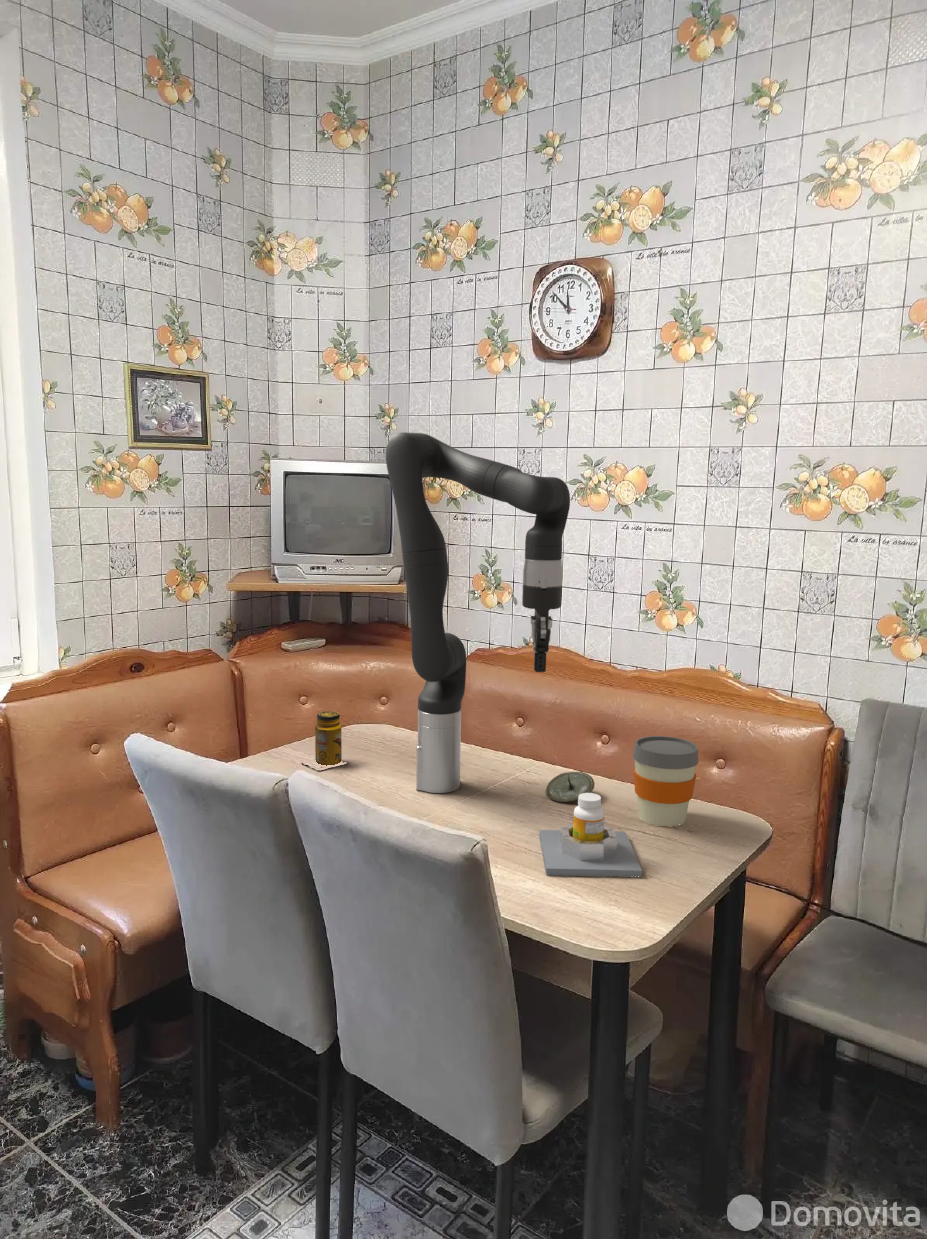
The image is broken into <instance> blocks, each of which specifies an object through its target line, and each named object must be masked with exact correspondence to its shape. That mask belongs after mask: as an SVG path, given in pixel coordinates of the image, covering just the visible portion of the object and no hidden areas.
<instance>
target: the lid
mask: <svg viewBox="0 0 927 1239" xmlns="http://www.w3.org/2000/svg"><path fill="white" fill-rule="evenodd" d="M594 788H595V780H594V778H593V777H592V776H591V775H590V774H589V773H586V772H583V771H569V772H568V771H567V772H566V771H565V772H562V773H559V774H558V775H556V776H554V777H553V778H551V779H550V781H549V782H548V784H547V785H546V788H545V794H546V795H547V797H548V799H550V800H552V801H554V802H558V803H572V802H578V796H579V795H580V794H582V793H592V791H593V790H594Z"/></svg>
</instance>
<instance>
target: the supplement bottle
mask: <svg viewBox="0 0 927 1239" xmlns="http://www.w3.org/2000/svg"><path fill="white" fill-rule="evenodd" d="M577 804H578V805H577V806H575V808H574V810H573V822H572V823H573V837H574V838H576V839H579V840H581V841H598V842H600V841H602V840H603V839H604V826H605V811H604V809H603V807H601V806H602V797H601V795H600V794H597V793H593V792H591V793H582V794H580V795H579V796H578V800H577Z"/></svg>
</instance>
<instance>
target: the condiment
mask: <svg viewBox="0 0 927 1239" xmlns="http://www.w3.org/2000/svg"><path fill="white" fill-rule="evenodd" d="M340 718H341V716H340V713H339V712H337V711H332V710H326V711H321V712H318V713H317V715H316V725H315V727H314V733H315V734H314V736H315V737H314V739H315V742H314V744H315V745H314V749H315V750H314V751H315V753H314V755H315V756H314V757H315V759H314V760H316V762H317V763H318V764H321V765H326V766H327V765H335V764H338V763H340V762H341V760H342V755H343V754H342V750H343V748H342V747H343V746H342V725H341V723H340V722H341V720H340ZM342 761H343V760H342Z"/></svg>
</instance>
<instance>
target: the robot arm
mask: <svg viewBox="0 0 927 1239" xmlns="http://www.w3.org/2000/svg"><path fill="white" fill-rule="evenodd" d="M385 463H386V469H387V475H388V478H389V482H390V487H391V492H392V495H393V499H394V500H393V501H394V504H395V510H396V516H397V523H398V531H399V536H400V537H399V538H400V545H401V555H402V564H403V570H404V571H403V572H404V575H405V584H406V592H407V598H408V601H407V602H408V606H409V615H410V616H409V618H410V632H411V633H410V635H411V636H410V642H411V644H410V645H411V646H410V647H411V649H410V650H411V659H412V660H411V661H412V664H413V667H414V669H415V671H416V674H417V675H418V676H419V677H420V678H421V679H423V680H424V681H425V684H424V687H423V689H422V691H421V692H420V694H419V695H418V698H417V744H416V790H417V791H424V792H426V793H433V794H445V793H452V792H454V791H456V790H458V789H460V786H461V747H462V746H461V745H462V744H461V742H462V741H461V736H462V735H461V734H462V733H461V731H462V730H461V729H462V728H461V726H462V702H463V699H464V695H465V690H466V677H467V676H466V675H467V654H466V651H467V650H466V648H465V645H464V644H463V642H462V640H461V639H460V638H459V637H458V636H457V635H455V634H453V633H450V632H446V631H445V624H444V616H443V613H444V612H443V611H444V603H445V596H446V591H447V586H448V581H449V563H448V562H449V561H448V560H449V559H448V553H447V545H446V544H447V543H446V540H445V535H444V534H443V531H442V530H441V527H440V526H439V524H438V522H437V520H436V519H435V517H434V516H433V514H432V512H431V510H430V508H429V505H428V503H427V501H426V500H427V499H426V497H425V490H424V483H423V479H424V478H436V479H442V480H443V479H444V480H445V479H446V480H450V481H452V482H453V481H454V482H456V483H459V484H460V485H462V486H464V487H466V489H469V490H470V491H472V492H474V493H476V494H478V495H480V496H483V497H486V498H489V499H492V500H495V501H499V502H501V503H507V504H508V505H510V506H512V507H514V508H516V509H518V510H520V511H522V512H524V513H528V514H532V515H535V519H534V525H533V526H532V527H531V528H530V529H528V530H527V531H526V534H525V543H524V546H525V547H524V548H525V549H524V564H523V570H522V597H521V598H522V600H521V601H522V602H521V604H522V606H523V607H524V608H525V609H531V610H533V609H534V614H533V615H530V624H531V625H530V626H531V639H532V645H533V647H532V649H533V652H534V653H533V659H534V660H533V670H534V672H535V673H545V672H546V670H547V654H548V652H549V650H550V648H549V646H550V642H551V636H552V635H551V633H552V632H551V630H552V627H553V618H552V615H551V616H550V610H557V609H560V608H561V607H562V601H563V600H562V599H563V576H564V575H563V571H564V570H563V562H562V561H563V535H564V532H565V530H566V529H565V528H566V525H567V521H568V517H569V513H570V506H571V495H570V491H569V490H570V489H569V487H568V485H567V483H566V481H564V480H563V479H561V478H559V477H554V476H539V475H534V474H529V473H527V472H526V473H525V472H523V471H522V470H521V469H519V468H517V467H515V466H512V465H509V464H506V463H503V462H499V461H495V460H492V459H489V458H488V459H487V458H484V457H480V456H476V455H472V454H470V453H467V452H464V451H462V450H459V449H458V448H457V449H456V448H455V447H453V446H450V445H449V444H447V443H445V442H443V441H441V440H440V439H438V438H436V437H433V436H431V435H430V434H428V433H427V434H426V433H421V432H405V431H403V432H396V433H395V434H394V435H392V436H391V437H390V438H389V439H388V442H387V444H386V449H385Z"/></svg>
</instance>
